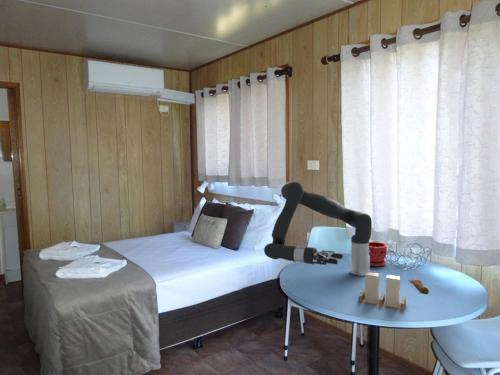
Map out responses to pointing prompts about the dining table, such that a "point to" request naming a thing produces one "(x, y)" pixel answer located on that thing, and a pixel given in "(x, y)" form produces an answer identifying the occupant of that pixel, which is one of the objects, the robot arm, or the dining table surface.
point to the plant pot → (377, 253)
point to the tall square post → (392, 291)
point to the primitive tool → (420, 286)
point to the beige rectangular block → (372, 288)
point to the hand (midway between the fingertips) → (340, 259)
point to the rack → (382, 302)
